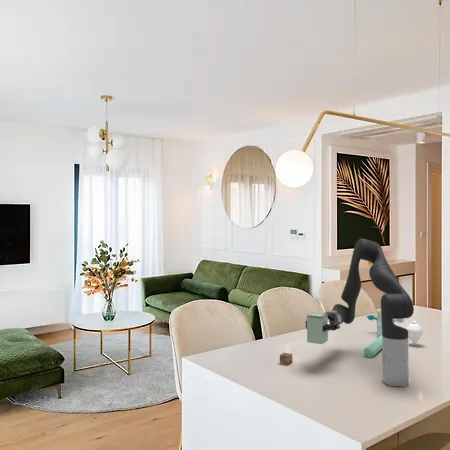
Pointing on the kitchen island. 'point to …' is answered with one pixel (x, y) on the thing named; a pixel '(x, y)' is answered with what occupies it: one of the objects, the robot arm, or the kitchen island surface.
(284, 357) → the walnut block
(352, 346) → the kitchen island surface
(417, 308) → the kitchen island surface
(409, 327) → the spinning top
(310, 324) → the tall sage green box
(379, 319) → the character sculpture
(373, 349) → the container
